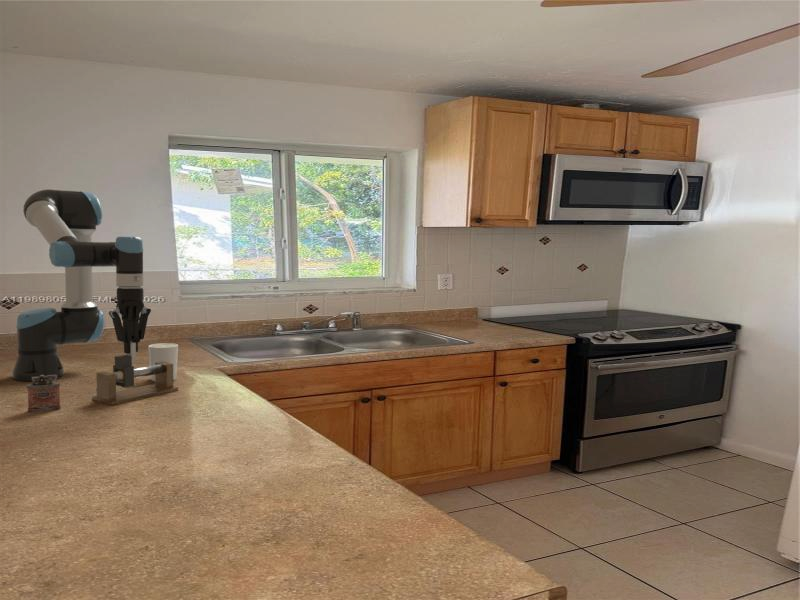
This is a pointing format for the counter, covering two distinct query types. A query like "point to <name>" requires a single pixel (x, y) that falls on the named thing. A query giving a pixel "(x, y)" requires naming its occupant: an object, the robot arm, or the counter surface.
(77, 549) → the counter surface
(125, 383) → the collar
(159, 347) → the candle holder
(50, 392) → the lighter
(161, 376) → the pipe rig
